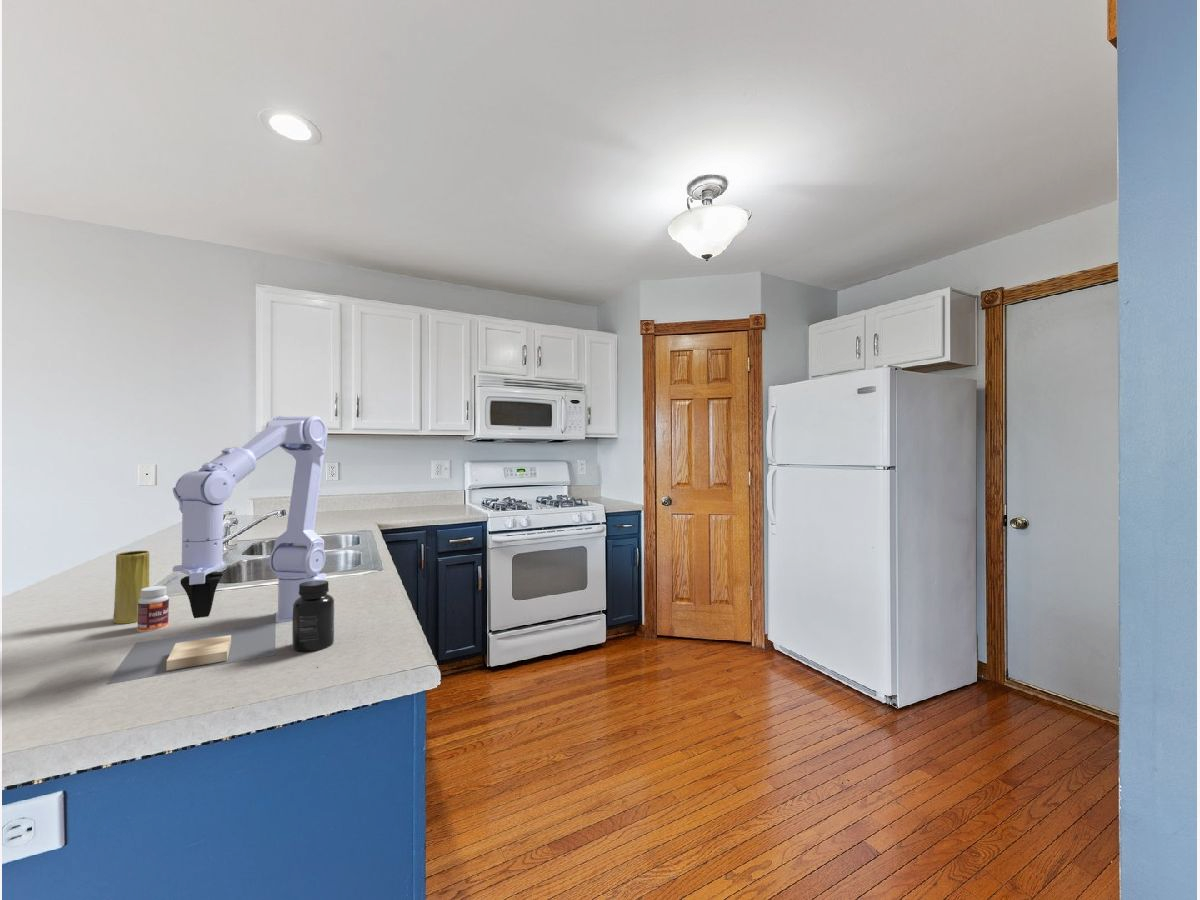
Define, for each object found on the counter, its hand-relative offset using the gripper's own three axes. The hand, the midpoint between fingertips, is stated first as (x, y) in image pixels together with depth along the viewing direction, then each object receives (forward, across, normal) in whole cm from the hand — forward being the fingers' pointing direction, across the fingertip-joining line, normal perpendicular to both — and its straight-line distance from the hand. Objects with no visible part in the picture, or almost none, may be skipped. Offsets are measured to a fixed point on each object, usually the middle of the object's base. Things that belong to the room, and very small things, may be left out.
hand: (201, 616), depth 90 cm
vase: (+7, -32, -15) cm, 37 cm away
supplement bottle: (+7, +4, +17) cm, 19 cm away
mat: (+7, -4, 0) cm, 8 cm away
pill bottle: (+7, -22, -10) cm, 26 cm away
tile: (+6, -4, 0) cm, 7 cm away
